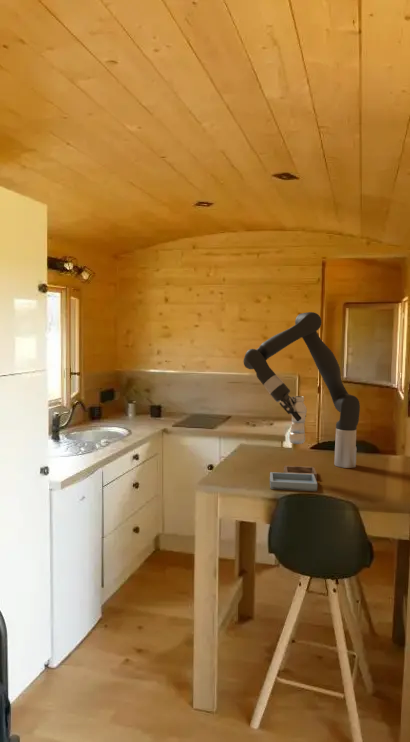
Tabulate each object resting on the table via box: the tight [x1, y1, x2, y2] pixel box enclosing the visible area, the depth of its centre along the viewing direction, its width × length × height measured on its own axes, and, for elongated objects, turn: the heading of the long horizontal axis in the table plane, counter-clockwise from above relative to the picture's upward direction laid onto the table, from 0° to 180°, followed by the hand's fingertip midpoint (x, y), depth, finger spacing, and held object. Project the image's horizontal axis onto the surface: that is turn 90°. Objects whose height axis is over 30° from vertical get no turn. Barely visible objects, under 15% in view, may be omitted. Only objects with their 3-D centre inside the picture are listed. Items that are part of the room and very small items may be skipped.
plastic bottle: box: [288, 395, 308, 445], centre depth 235 cm, size 6×7×20 cm
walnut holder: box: [283, 465, 318, 481], centre depth 241 cm, size 13×12×2 cm
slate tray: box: [269, 471, 318, 492], centre depth 227 cm, size 18×14×3 cm
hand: (302, 418), depth 234 cm, fingers closed on plastic bottle, 6 cm apart
